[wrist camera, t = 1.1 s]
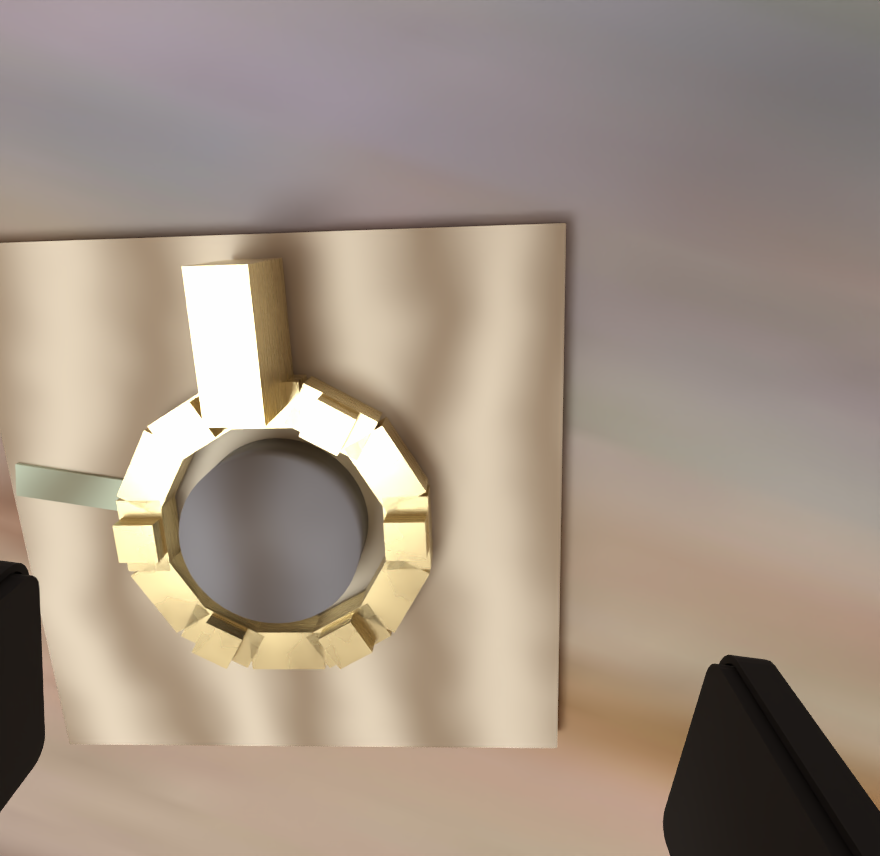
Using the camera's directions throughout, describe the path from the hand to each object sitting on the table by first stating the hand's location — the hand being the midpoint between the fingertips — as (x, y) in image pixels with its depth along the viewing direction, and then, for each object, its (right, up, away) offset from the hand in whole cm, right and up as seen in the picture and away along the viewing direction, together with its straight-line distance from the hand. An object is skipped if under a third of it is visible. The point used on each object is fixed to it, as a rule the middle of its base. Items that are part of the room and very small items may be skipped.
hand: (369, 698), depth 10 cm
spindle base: (-6, 0, +24) cm, 25 cm away
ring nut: (-6, +2, +22) cm, 23 cm away
